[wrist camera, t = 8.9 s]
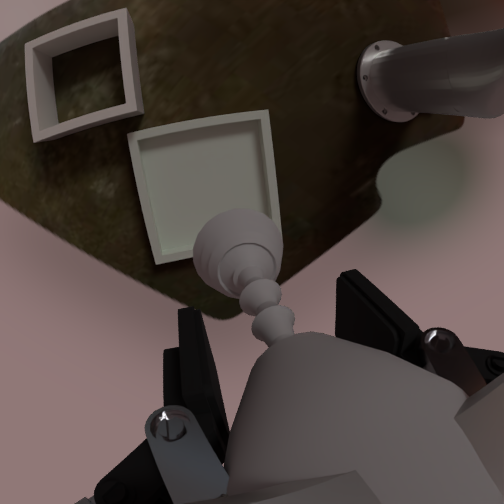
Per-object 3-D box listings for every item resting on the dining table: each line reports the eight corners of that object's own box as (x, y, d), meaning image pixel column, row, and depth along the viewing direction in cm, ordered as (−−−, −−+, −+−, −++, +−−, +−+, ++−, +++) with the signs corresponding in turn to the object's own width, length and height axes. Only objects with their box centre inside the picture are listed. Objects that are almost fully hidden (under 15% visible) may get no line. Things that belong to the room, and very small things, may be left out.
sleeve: (133, 24, 27) (126, 7, 21) (144, 113, 32) (137, 110, 26) (44, 53, 25) (24, 43, 20) (54, 139, 30) (33, 142, 25)
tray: (262, 110, 35) (268, 109, 32) (276, 232, 41) (282, 238, 39) (130, 133, 32) (126, 133, 30) (157, 256, 39) (156, 264, 37)
